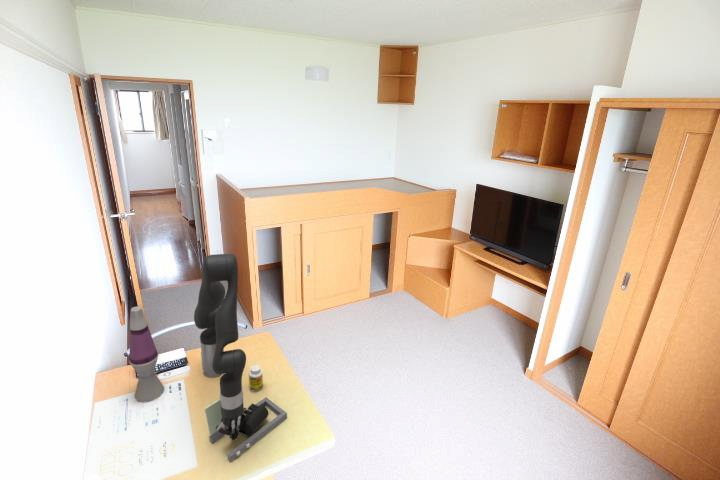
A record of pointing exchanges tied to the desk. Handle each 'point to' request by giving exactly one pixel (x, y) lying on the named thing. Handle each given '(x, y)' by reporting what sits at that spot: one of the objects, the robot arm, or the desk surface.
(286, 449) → the desk surface
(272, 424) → the grey frame
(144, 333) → the lamp
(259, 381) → the supplement bottle
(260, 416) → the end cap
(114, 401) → the desk surface
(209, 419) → the lid
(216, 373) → the robot arm
